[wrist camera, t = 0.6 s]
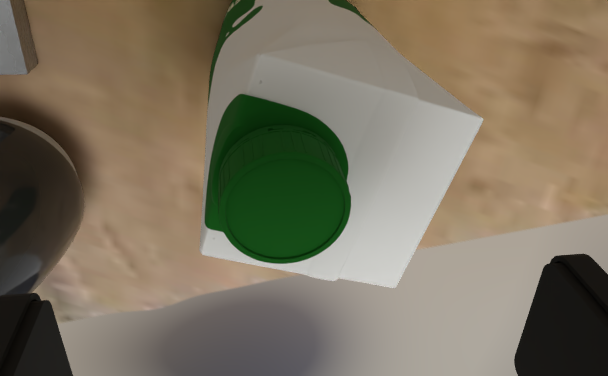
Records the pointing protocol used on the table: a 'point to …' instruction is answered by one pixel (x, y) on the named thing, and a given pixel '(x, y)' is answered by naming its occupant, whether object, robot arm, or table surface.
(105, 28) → the table surface
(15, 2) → the grey flat board
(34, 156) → the pump dispenser
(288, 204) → the milk carton
